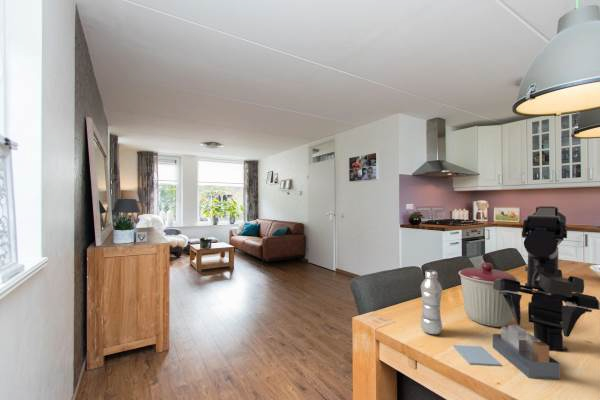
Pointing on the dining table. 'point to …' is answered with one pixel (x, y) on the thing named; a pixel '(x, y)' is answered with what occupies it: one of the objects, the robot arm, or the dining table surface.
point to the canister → (485, 295)
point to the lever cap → (518, 338)
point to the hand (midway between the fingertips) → (541, 330)
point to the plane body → (529, 358)
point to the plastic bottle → (431, 303)
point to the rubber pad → (476, 355)
